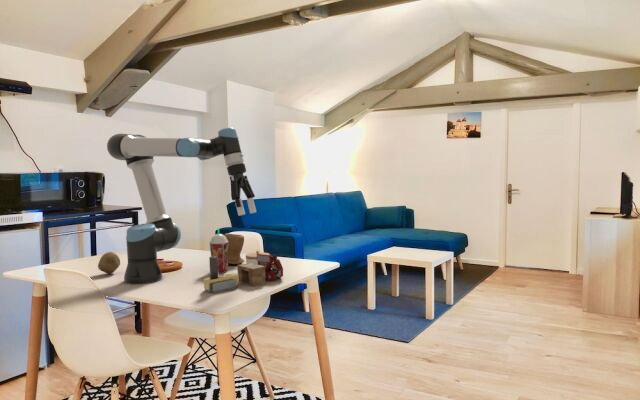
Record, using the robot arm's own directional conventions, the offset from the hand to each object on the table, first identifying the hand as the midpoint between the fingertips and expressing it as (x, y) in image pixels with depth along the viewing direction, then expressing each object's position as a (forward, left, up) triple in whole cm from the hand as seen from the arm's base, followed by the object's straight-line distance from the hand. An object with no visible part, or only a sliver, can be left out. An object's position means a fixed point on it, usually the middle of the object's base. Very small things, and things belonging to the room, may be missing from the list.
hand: (247, 214), depth 193 cm
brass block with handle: (+7, -17, -26) cm, 32 cm away
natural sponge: (-56, -39, -27) cm, 73 cm away
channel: (+7, -18, -27) cm, 33 cm away
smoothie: (-22, -2, -27) cm, 35 cm away
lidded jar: (-9, +10, -27) cm, 31 cm away
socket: (+7, -4, -27) cm, 28 cm away
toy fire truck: (+7, +5, -28) cm, 29 cm away
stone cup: (-35, +11, -27) cm, 46 cm away
